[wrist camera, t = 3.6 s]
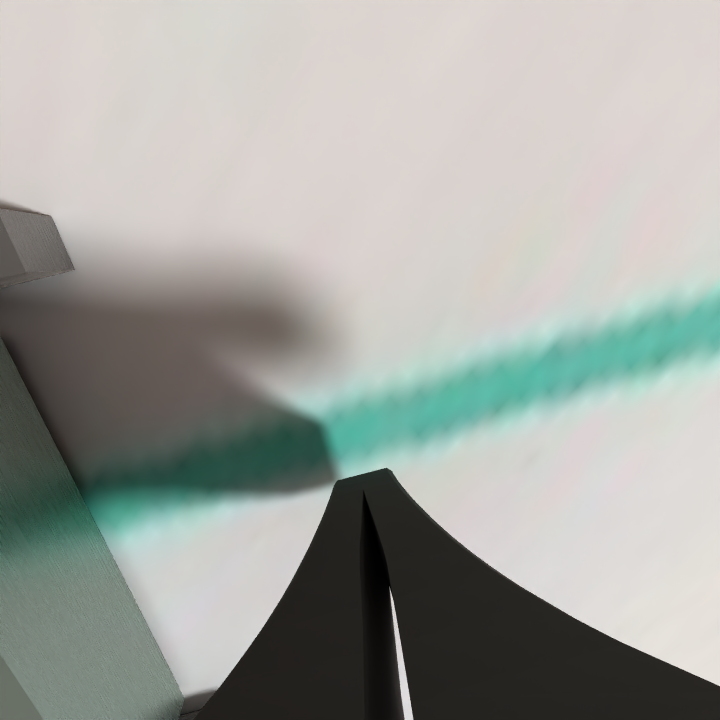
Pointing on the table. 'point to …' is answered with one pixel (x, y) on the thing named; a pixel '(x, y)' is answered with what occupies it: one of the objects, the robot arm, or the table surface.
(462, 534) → the table surface
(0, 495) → the sliding jaw
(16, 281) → the vise body
